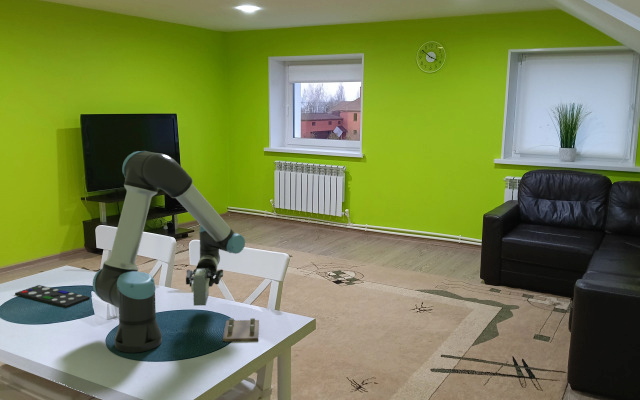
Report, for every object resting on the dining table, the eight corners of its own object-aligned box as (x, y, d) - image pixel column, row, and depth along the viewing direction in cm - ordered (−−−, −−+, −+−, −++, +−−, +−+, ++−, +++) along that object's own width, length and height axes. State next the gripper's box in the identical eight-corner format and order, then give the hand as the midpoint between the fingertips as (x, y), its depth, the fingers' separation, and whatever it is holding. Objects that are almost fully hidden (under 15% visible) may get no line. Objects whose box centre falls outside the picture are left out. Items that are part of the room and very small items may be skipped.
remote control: (39, 288, 239) (38, 283, 238) (89, 300, 226) (89, 295, 226) (15, 296, 229) (14, 291, 229) (66, 309, 216) (66, 304, 216)
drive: (193, 305, 189) (193, 276, 187) (197, 295, 198) (196, 268, 197) (205, 305, 189) (205, 276, 187) (208, 295, 199) (208, 268, 197)
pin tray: (222, 341, 189) (222, 331, 188) (226, 323, 204) (226, 314, 204) (258, 340, 190) (258, 331, 189) (258, 322, 206) (258, 313, 205)
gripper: (229, 276, 213) (225, 298, 190) (184, 277, 211) (174, 298, 188) (229, 258, 211) (224, 277, 189) (183, 258, 210) (173, 277, 187)
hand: (199, 287), depth 188 cm, fingers closed on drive, 4 cm apart
